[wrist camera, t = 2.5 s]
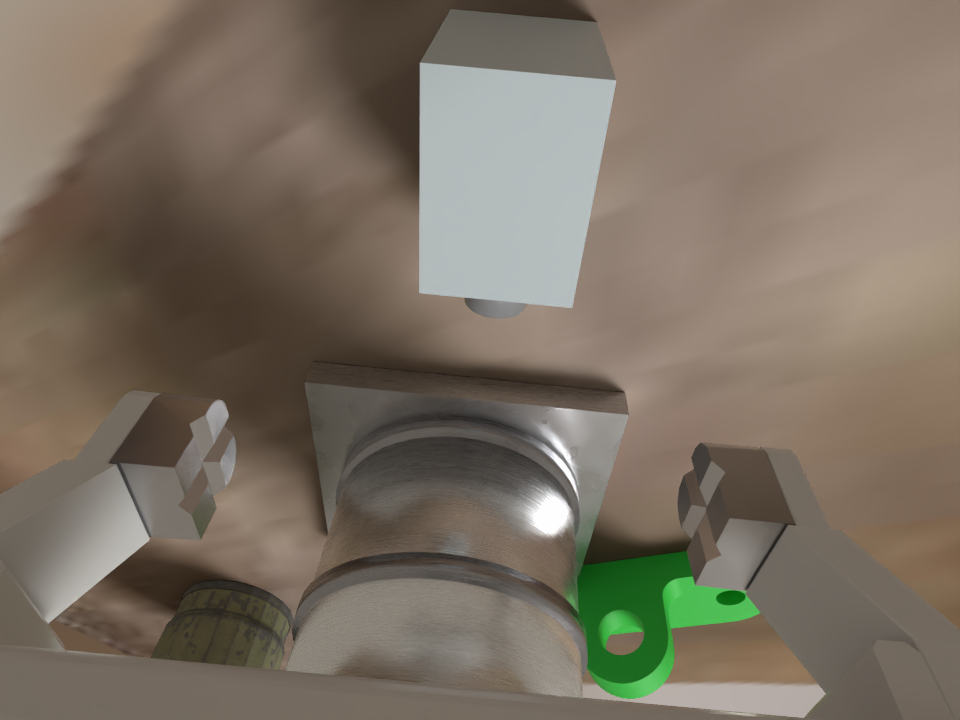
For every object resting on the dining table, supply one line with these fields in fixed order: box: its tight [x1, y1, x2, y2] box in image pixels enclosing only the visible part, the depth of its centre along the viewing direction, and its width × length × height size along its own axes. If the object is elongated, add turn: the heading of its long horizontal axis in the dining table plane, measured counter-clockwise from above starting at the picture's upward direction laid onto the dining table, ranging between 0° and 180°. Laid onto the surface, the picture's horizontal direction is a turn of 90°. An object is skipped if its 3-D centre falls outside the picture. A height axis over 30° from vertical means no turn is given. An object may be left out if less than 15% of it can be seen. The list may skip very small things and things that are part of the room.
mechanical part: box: [577, 551, 760, 699], centre depth 39 cm, size 12×6×8 cm, turn 111°
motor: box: [286, 362, 629, 698], centre depth 29 cm, size 16×16×19 cm
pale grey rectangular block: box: [419, 9, 616, 318], centre depth 21 cm, size 5×9×7 cm, turn 176°
